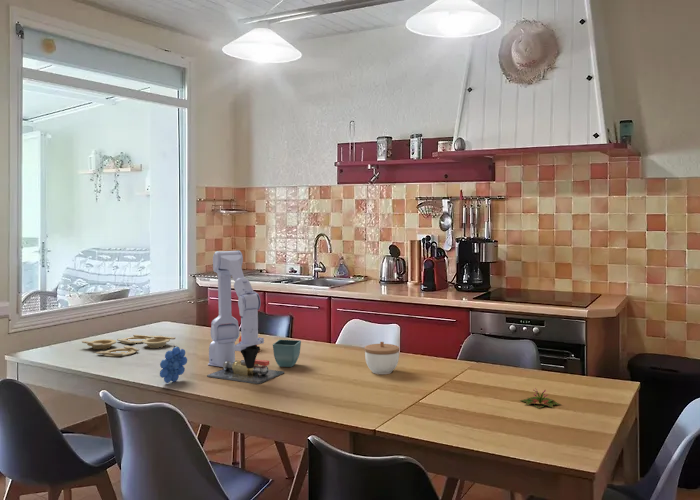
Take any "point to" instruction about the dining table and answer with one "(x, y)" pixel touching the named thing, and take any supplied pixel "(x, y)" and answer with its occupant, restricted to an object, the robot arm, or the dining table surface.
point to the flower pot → (286, 352)
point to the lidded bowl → (381, 357)
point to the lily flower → (540, 400)
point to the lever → (258, 362)
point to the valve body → (245, 373)
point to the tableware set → (107, 343)
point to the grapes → (173, 364)
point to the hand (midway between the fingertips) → (250, 367)
